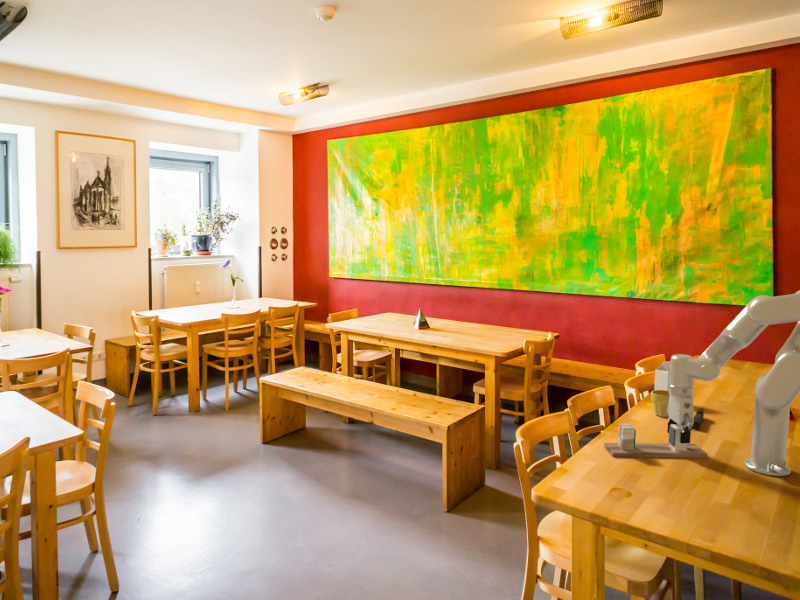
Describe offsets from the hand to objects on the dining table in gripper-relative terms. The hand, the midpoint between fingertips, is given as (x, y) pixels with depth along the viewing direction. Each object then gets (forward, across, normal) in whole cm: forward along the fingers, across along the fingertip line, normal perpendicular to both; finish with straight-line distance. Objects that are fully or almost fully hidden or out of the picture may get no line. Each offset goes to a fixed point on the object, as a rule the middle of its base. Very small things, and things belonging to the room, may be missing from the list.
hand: (678, 437), depth 195 cm
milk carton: (+6, +61, -22) cm, 65 cm away
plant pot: (+6, +42, -13) cm, 44 cm away
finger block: (+4, 0, 0) cm, 4 cm away
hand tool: (+6, +32, -22) cm, 39 cm away
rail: (+5, 0, +8) cm, 10 cm away
